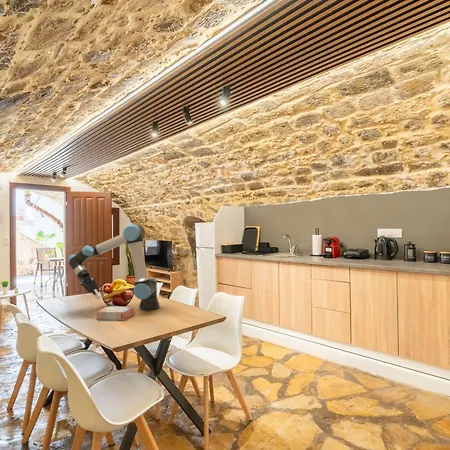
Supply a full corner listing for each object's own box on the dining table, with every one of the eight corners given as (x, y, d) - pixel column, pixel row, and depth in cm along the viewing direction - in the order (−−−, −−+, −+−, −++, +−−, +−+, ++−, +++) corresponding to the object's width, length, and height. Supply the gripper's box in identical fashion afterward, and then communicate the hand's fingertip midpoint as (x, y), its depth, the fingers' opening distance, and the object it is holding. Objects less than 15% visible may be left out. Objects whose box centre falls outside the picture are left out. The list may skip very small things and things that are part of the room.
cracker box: (96, 320, 230) (124, 320, 226) (95, 311, 230) (123, 311, 226) (107, 314, 244) (134, 314, 239) (106, 306, 244) (133, 306, 239)
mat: (135, 313, 246) (134, 312, 246) (125, 320, 226) (125, 320, 226) (109, 313, 247) (109, 313, 247) (97, 321, 227) (97, 320, 227)
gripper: (86, 275, 252) (103, 299, 244) (71, 277, 240) (88, 303, 232) (91, 268, 249) (108, 292, 241) (76, 270, 238) (94, 296, 230)
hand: (98, 297), depth 237 cm, fingers closed
